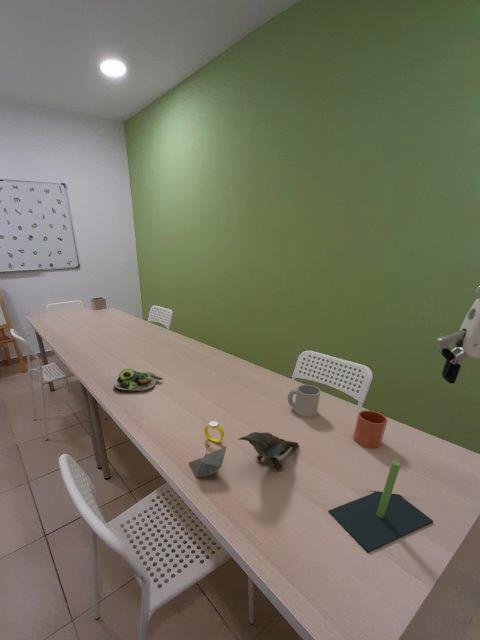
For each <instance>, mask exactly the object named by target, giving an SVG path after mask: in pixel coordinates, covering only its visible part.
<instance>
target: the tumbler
mask: <svg viewBox="0 0 480 640" xmlns="http://www.w3.org/2000/svg"><path fill="white" fill-rule="evenodd" d="M387 424H388V418H387V417H386V416H385V415H384V414H383V413H380V412H377V411H374V410H369V409H368V410H367V409H366V410H360V411H358V414H357V418H356V423H355V427H354V430H353V435H352V438H353V441H354V442H355V443H356V444H358V445H359V446H362V447H364V448H368V449H379V447H381V445H382V442H383V439H384V434H385V431H386V428H387Z"/></svg>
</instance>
